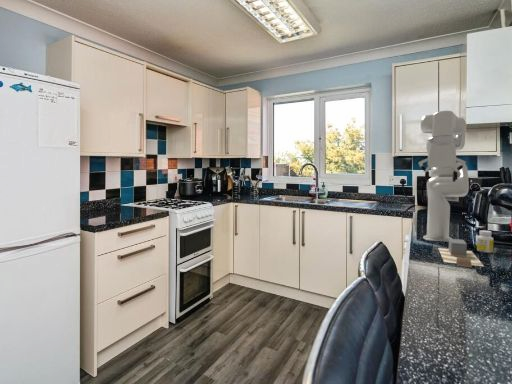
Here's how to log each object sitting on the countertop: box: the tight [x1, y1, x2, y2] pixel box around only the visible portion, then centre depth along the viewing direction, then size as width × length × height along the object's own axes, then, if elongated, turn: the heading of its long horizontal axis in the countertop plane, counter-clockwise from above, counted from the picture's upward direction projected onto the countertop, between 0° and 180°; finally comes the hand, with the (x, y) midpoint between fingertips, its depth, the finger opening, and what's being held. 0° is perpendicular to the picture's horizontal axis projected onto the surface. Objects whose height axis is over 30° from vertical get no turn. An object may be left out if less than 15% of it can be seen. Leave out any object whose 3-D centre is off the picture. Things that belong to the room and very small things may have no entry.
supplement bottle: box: [476, 229, 494, 254], centre depth 126 cm, size 5×5×10 cm
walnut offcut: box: [455, 258, 473, 269], centre depth 107 cm, size 4×4×2 cm
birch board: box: [437, 247, 485, 267], centre depth 118 cm, size 22×12×2 cm, turn 154°
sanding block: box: [448, 238, 468, 257], centre depth 122 cm, size 8×5×5 cm, turn 154°
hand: (440, 181), depth 129 cm, fingers open, 9 cm apart
